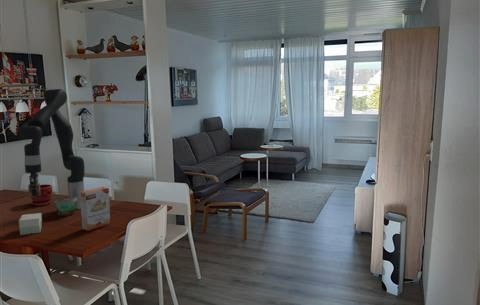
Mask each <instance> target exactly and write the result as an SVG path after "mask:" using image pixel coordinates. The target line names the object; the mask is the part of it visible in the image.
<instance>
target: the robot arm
mask: <svg viewBox="0 0 480 305" xmlns="http://www.w3.org/2000/svg"><path fill="white" fill-rule="evenodd" d="M43 98H44V101H45V106H43V107H42V108H40V109H39V110H38V111H37V112H36V113H35V114H34V115H33V116H32V118H31V119H30V120H28V121H27V122H26V123H24V124H23V125H22V126H21V127H20V129H19V131H18V132H19V136H20V138H21V139H24V140H31V143H26V144H24V145H23V147H24V148H23V149H24V150H23V151H24V170H25V172H24V173H26V174H30V175H29V176H28V179H29V184H30V188H31V190H32V196H36V195H37V191H36V188H37V187H36V185H37V184H38V183H39V174H38V173H41V172H42V160H41V159H42V158H41V154H40V147H41V142H42V138H43V128H44V127H45V126H46V124H47V123H48V122H49V120H50V119H51V122H52V124H53V126H54V127H53V128H54V131H55V134H56V138H57V141H58V145H59V148H60V152H61V158H62V163H63V167H64V168H65V169H66V170H68V171H70V175H69V176H68V177H67V180H66V181H67V190H68V199H73V198H75V197H76V198H77V201H76V206H75V210H81V199H80V192H82V191H85V182H84V177H85V173H86V172H85V162H84V159H83V157H81V156H77V155H75V154H74V150H73V141H74V132H73V128H72V125H71V123H70V122H69V121H68V119H67V118H66V117H64V115H62V113H61V112H60V108H61V107H62V106H64V105H65V104H66V103H67V101H68V100H67V99H68V96H67V92H66V91H65V90H64V89H61V88H53V89H46V90H45V91H44V93H43ZM32 185H35V186H32Z"/></svg>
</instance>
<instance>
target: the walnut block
mask: <svg viewBox="0 0 480 305" xmlns="http://www.w3.org/2000/svg"><path fill="white" fill-rule="evenodd" d="M40 185H41V183H40V182H38V184H37V185H36V187H37V188H36V191H37V195H36V196H32V190H31V188H30V183H29V184H28V188H27V189H28V198H31V197H37V196H40V194H41V193H40ZM32 186H35V185H32Z"/></svg>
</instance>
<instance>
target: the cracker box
mask: <svg viewBox="0 0 480 305" xmlns="http://www.w3.org/2000/svg"><path fill="white" fill-rule="evenodd" d="M109 188H110V187H106V186H100V187H96V188H95V187H94V188H91V189H87V190H84V191H82V192H80V199H81V209H80V213H81V214H80V216H81V229H82V230H84V231H87V232H89V231H92V230H95V229H98V228H101V227H104V226H108V225H110V224H111V210H110V207H111V206H110V189H109Z"/></svg>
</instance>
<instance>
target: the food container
mask: <svg viewBox="0 0 480 305" xmlns="http://www.w3.org/2000/svg"><path fill="white" fill-rule="evenodd" d="M76 201H77V198H76V197H75V198H73V199H69V198H63V199H58V200H57V199H54V201H53V202H54V205H55V206H56V211H57V215H58V216H59V217H64V218H65V217H71V216H74V215H75V214H76V209H75V206H76Z"/></svg>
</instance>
